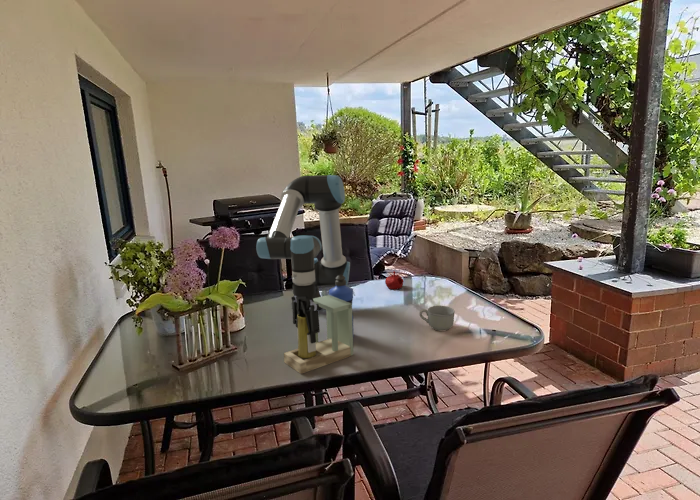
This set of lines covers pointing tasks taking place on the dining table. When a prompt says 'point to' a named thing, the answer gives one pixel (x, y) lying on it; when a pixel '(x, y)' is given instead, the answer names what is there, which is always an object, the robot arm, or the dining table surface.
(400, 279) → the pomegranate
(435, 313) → the teacup
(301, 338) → the vase
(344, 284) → the water bottle
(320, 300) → the pale green stool
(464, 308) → the dining table surface
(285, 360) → the socket block
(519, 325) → the dining table surface
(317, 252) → the robot arm
